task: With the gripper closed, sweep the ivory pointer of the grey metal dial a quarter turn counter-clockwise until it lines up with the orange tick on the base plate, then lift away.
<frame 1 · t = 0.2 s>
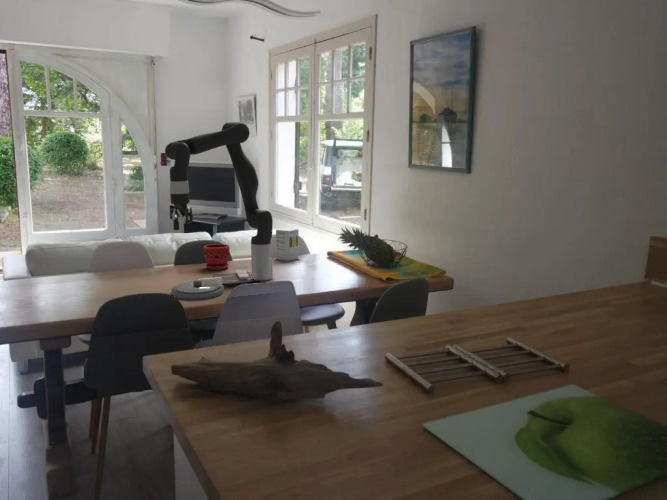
hand: (181, 231, 236), 28 cm above the table, fingers open, 8 cm apart
dial base: (197, 292, 248), on the table
plant pot: (217, 268, 296), on the table
supplement box: (287, 259, 320), on the table
dial: (199, 283, 248), point 4 cm above the table, hinge at 0.0°
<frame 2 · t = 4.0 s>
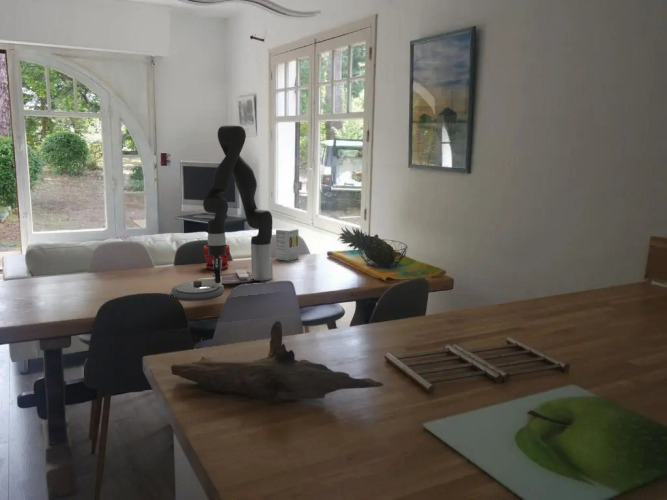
hand: (217, 282, 248), 4 cm above the table, fingers closed
dial: (199, 283, 248), point 4 cm above the table, hinge at 0.8°, touching gripper
everything else where it was.
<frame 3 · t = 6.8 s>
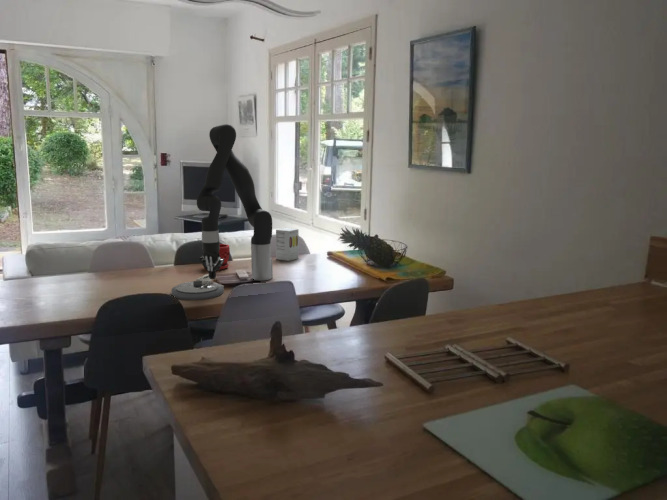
hand: (212, 278, 254), 5 cm above the table, fingers closed
dial: (198, 283, 248), point 4 cm above the table, hinge at 53.1°, touching gripper
everything else where it was.
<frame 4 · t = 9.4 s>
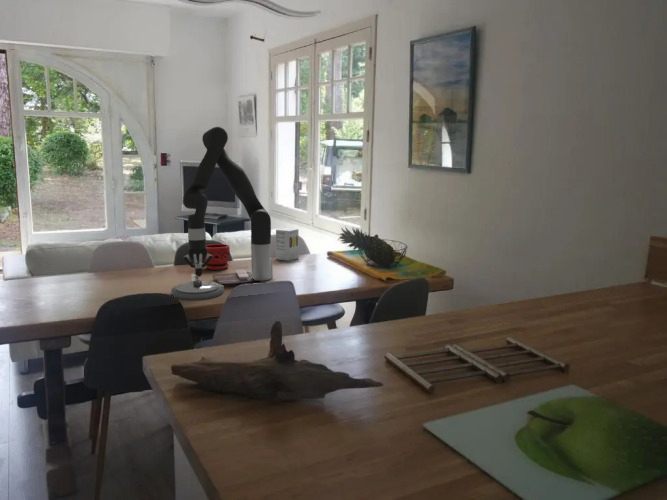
hand: (199, 276, 255), 5 cm above the table, fingers closed
dial: (197, 283, 248), point 4 cm above the table, hinge at 94.6°
everything else where it was.
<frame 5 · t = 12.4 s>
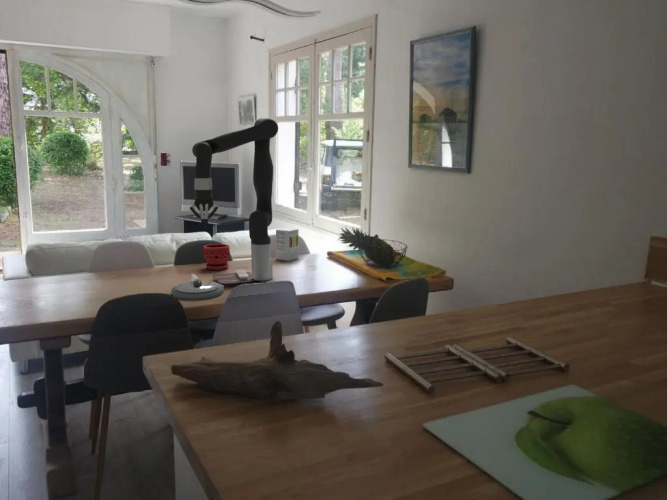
hand: (204, 227, 255), 27 cm above the table, fingers closed
nothing on the table moved.
at the end: dial at +95° (first picture: +0°) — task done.
